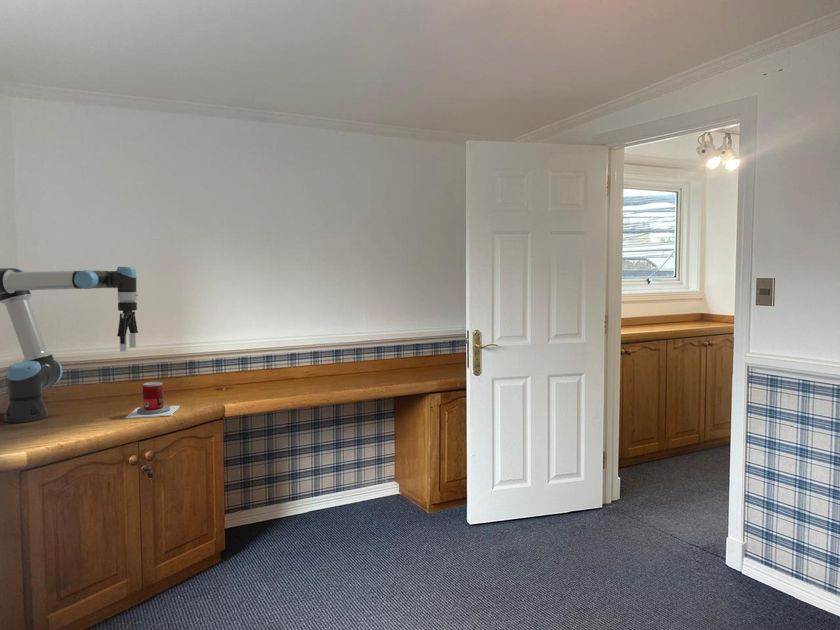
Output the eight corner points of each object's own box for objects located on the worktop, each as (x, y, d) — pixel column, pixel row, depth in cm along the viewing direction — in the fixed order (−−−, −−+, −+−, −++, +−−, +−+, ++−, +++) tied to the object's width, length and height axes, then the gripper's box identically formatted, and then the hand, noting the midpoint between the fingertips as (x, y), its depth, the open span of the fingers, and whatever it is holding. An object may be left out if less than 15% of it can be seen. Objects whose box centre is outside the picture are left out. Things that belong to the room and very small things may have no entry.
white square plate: (125, 418, 246) (125, 414, 246) (137, 409, 263) (136, 405, 263) (171, 416, 249) (171, 411, 249) (179, 406, 267) (179, 402, 267)
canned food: (162, 409, 254) (161, 384, 253) (141, 410, 251) (140, 385, 251) (164, 405, 261) (163, 381, 260) (145, 407, 259) (144, 382, 258)
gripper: (127, 303, 249) (128, 353, 250) (144, 300, 273) (145, 346, 275) (108, 302, 247) (109, 353, 249) (126, 300, 272) (127, 346, 273)
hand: (128, 349), depth 262 cm, fingers open, 13 cm apart
